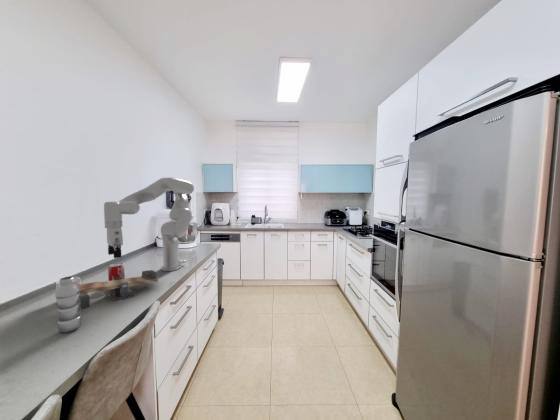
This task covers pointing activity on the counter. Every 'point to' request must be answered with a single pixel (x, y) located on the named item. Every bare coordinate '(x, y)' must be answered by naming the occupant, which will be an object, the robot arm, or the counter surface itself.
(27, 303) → the counter surface
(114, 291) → the beam stand
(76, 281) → the cup
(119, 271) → the soda can
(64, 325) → the plastic bottle
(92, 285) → the beam
